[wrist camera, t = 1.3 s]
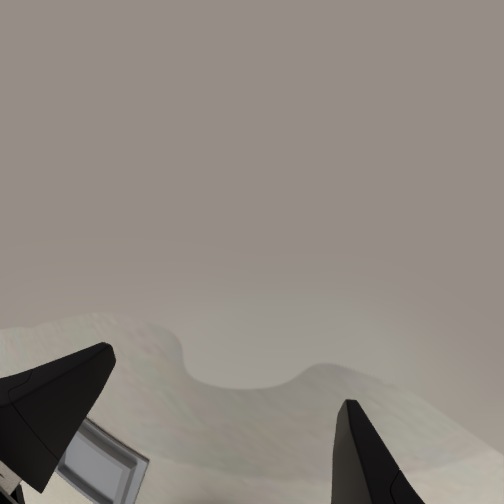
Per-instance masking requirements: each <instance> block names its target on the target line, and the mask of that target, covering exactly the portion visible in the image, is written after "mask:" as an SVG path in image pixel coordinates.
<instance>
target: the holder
mask: <svg viewBox="0 0 504 504" xmlns="http://www.w3.org/2000/svg"><path fill="white" fill-rule="evenodd" d="M148 464H149V461H148V460H146V459H144V458H143V457H141V456H139V455H138V454H136V453H134V452H133V451H131V450H130V449H128V448H126V447H125V446H123V445H122V444H120V443H119V442H117V441H116V440H114V439H113V438H112V437H110V436H109V435H107V434H106V433H105V432H103V431H102V430H100V429H99V428H98V427H96V426H95V425H94V424H92V423H91V422H90V421H89V420H87V419H86V418H85V419H84V421H83V422H82V424H81V426H80V427H79V429H78V431H77V432H76V434H75V436H74V437H73V439H72V441H71V442H70V444H69V446H68V447H67V449H66V451H65V453H64V454H63V456H62V458H61V460H60V461H59V463H58V465H57V467H56V469H55V470H54V471H55V472H56V473H57V474H58V475H59V476H61V477H62V478H63V479H64V480H65V481H66V482H67V483H69V484H70V485H71V486H72V487H73V488H75V489H76V490H77V491H78V492H80V493H81V494H82V495H84V496H85V497H86V498H88V499H89V500H90V501H92V502H93V503H94V504H134V503H135V500H136V497H137V495H138V492H139V489H140V486H141V483H142V480H143V478H144V475H145V472H146V469H147V466H148Z"/></svg>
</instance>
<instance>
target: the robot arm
mask: <svg viewBox="0 0 504 504" xmlns="http://www.w3.org/2000/svg"><path fill="white" fill-rule="evenodd" d="M115 363H116V358H115V355H114V351H113V347H112V346H111V345H110V344H108V343H105V342H101V343H98V344H96V345H93V346H91V347H88V348H86V349H83V350H81V351H78V352H75V353H73V354H70V355H68V356H65V357H62V358H60V359H57V360H54V361H52V362H49V363H46V364H44V365H41V366H38V367H36V368H34V369H30V370H27V371H24V372H21V373H18V374H15V375H11V376H8V377H4V378H0V504H25V501H24V497H23V492H22V487H21V485H20V482H21V481H22V480H23V481H25V482H26V483H27V484H29V485H30V486H31V487H32V488H34V489H35V490H36V491H38V492H39V493H41V494H42V492H43V491H44V489H45V487H46V485H47V483H48V481H49V479H50V478H51V476H52V474H53V472H54V470H55V469H56V467H57V465H58V463H59V461H60V460H61V458H62V456H63V454H64V453H65V451H66V449H67V447H68V446H69V444H70V442H71V441H72V439H73V437H74V436H75V434H76V432H77V431H78V429H79V427H80V426H81V424H82V422H83V421H84V419H85V418H86V416H87V414H88V413H89V411H90V409H91V408H92V406H93V405H94V403H95V402H96V400H97V398H98V397H99V395H100V393H101V392H102V390H103V388H104V386H105V384H106V382H107V380H108V378H109V376H110V374H111V372H112V370H113V368H114V366H115ZM399 469H400V468H399V467H398V465H397V463H396V462H395V460H394V458H393V457H392V455H391V454H390V452H389V450H388V449H387V447H386V446H385V444H384V442H383V441H382V439H381V438H380V436H379V434H378V433H377V431H376V430H375V428H374V427H373V425H372V423H371V422H370V420H369V419H368V417H367V415H366V414H365V412H364V411H363V409H362V408H361V406H360V404H359V403H358V401H357V400H350V399H346V400H345V401H344V403H343V405H342V407H341V409H340V411H339V413H338V416H337V424H336V432H335V440H334V448H333V467H332V497H331V504H425V503H424V502H423V500H422V499H421V498H420V497H419V496H418V494H417V493H416V492H415V490H414V489H413V488H412V487H411V485H410V484H409V482H408V481H407V479H406V478H405V476H404V474H403V473H402V471H401V470H399Z"/></svg>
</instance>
